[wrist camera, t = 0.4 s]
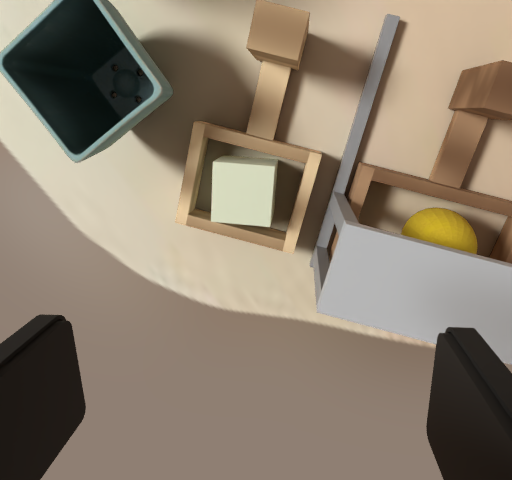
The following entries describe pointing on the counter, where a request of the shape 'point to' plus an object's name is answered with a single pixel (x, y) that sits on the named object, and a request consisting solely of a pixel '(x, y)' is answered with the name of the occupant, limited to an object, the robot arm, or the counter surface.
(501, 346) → the grey bench
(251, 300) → the counter surface
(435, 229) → the lemon
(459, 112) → the wooden handled tray
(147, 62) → the flower pot
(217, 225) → the sled
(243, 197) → the sage cube
